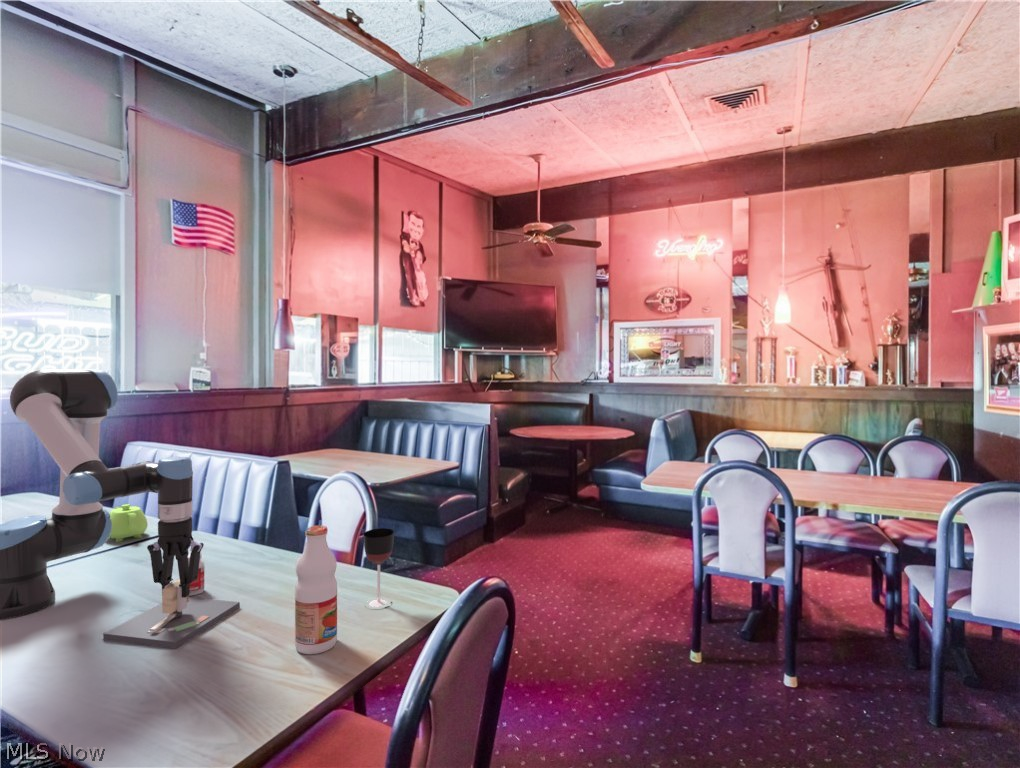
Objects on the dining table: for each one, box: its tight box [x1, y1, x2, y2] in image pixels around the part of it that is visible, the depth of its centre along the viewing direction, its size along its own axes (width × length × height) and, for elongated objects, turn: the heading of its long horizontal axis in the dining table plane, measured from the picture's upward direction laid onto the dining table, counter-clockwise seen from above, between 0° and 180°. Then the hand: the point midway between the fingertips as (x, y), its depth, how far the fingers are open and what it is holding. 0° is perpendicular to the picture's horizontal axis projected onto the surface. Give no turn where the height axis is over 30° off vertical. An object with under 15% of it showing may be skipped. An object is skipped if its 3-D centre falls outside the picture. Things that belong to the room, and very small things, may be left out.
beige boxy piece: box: [150, 578, 190, 632], centre depth 135 cm, size 12×3×8 cm, turn 0°
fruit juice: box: [294, 525, 338, 655], centre depth 127 cm, size 9×9×28 cm
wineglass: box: [363, 527, 395, 607], centre depth 150 cm, size 8×9×20 cm
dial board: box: [102, 596, 241, 649], centre depth 138 cm, size 20×22×2 cm
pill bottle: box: [188, 552, 205, 597], centre depth 156 cm, size 6×6×11 cm
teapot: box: [109, 503, 148, 543], centre depth 206 cm, size 20×13×13 cm
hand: (175, 609), depth 138 cm, fingers closed on beige boxy piece, 2 cm apart
